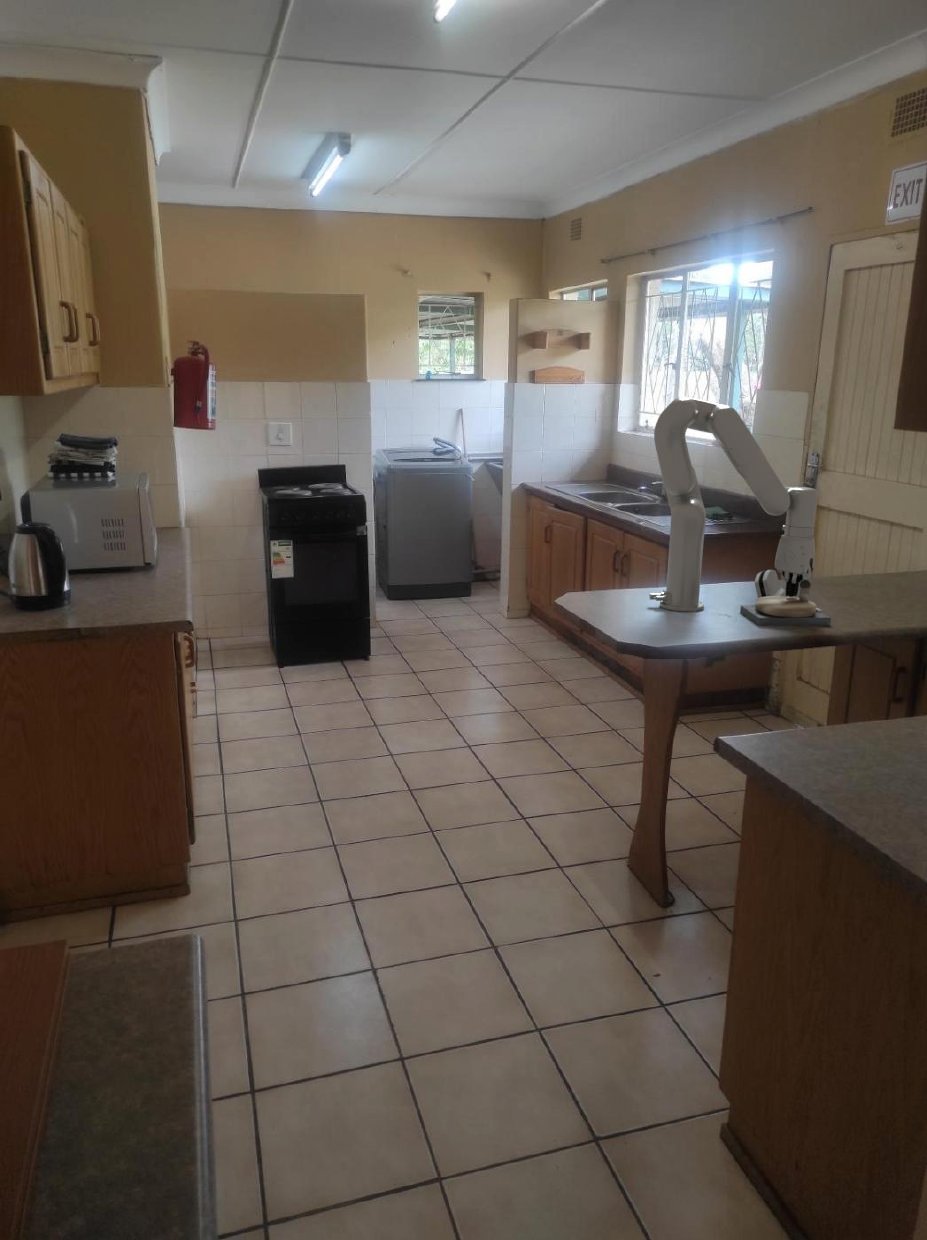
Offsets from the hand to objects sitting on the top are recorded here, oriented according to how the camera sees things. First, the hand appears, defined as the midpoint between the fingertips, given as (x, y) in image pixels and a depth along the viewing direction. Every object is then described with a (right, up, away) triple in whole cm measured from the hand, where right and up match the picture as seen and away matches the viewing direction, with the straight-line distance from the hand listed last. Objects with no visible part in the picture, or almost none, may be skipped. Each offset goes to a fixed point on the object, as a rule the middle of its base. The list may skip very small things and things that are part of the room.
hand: (791, 595), depth 249 cm
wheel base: (-4, -7, -4) cm, 9 cm away
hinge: (0, -1, +18) cm, 18 cm away
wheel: (-4, -4, -5) cm, 7 cm away
